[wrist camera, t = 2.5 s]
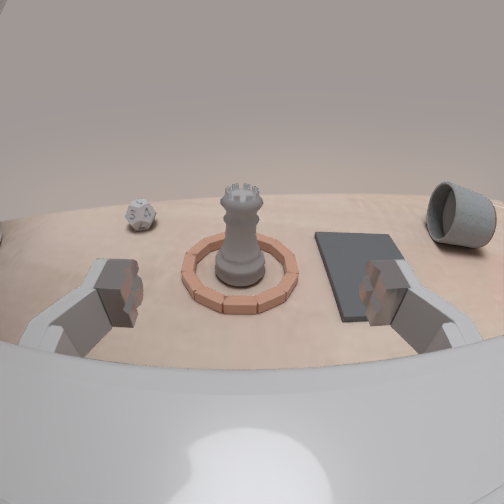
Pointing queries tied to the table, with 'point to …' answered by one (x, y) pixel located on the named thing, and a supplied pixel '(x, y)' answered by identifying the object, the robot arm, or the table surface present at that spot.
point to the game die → (140, 214)
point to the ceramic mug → (460, 216)
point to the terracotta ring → (239, 302)
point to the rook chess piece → (240, 238)
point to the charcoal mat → (352, 265)
